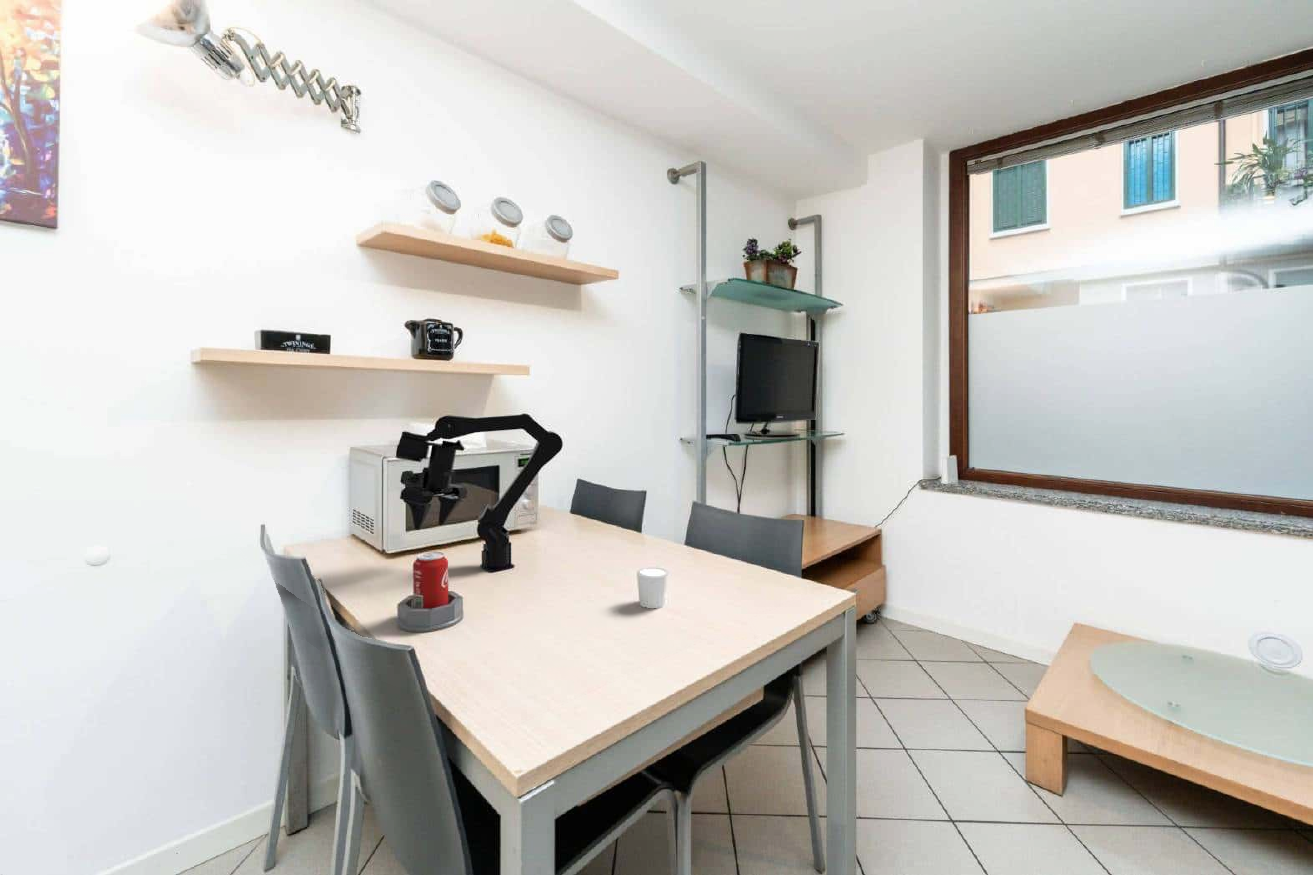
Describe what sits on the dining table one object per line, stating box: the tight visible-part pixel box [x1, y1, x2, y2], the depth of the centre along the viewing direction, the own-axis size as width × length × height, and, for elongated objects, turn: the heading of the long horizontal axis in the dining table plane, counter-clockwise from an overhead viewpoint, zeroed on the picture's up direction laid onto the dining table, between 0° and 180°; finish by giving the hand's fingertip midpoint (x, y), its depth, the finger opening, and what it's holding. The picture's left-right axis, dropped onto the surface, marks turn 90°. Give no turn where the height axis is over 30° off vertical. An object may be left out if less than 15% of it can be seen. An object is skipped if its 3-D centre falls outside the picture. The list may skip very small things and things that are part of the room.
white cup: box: [636, 567, 670, 609], centre depth 118 cm, size 7×7×7 cm
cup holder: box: [396, 590, 464, 633], centre depth 108 cm, size 12×12×4 cm
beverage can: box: [412, 551, 449, 609], centre depth 108 cm, size 6×6×12 cm
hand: (429, 527), depth 137 cm, fingers open, 9 cm apart
